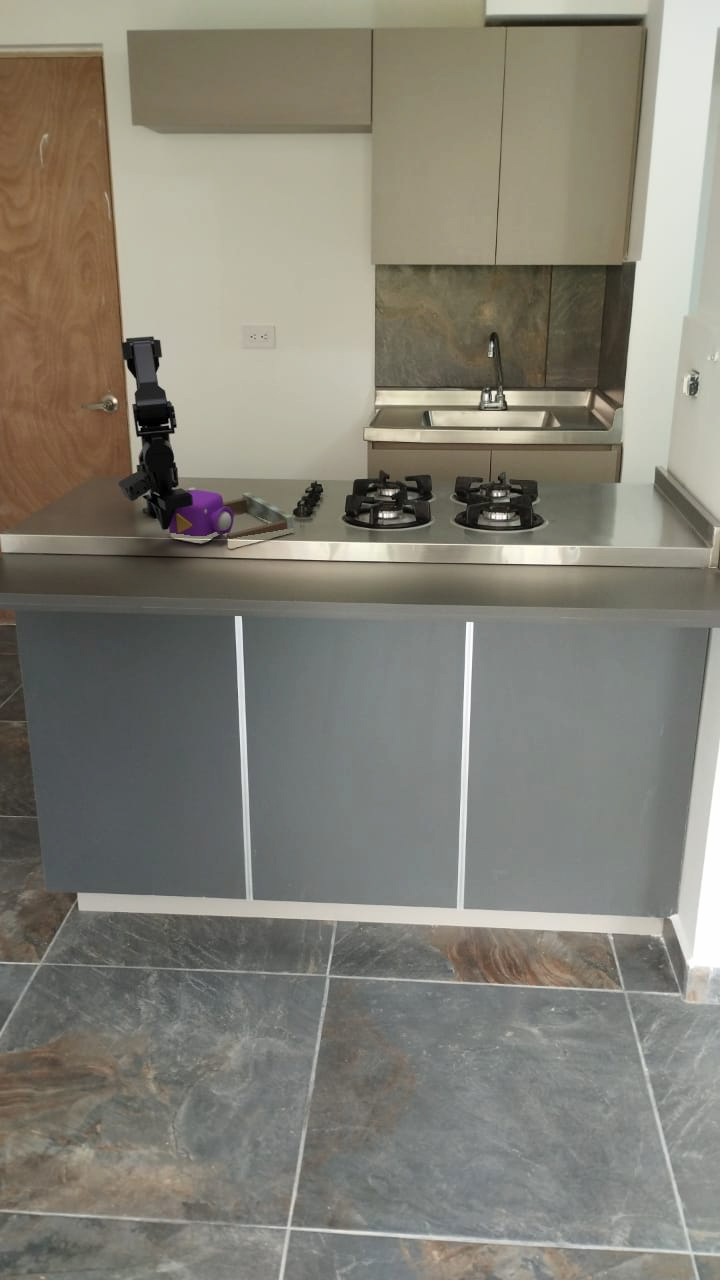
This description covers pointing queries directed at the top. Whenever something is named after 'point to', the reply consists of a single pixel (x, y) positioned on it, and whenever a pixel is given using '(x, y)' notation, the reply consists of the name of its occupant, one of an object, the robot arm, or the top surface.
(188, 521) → the toy camera
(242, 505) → the walnut dock
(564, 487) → the top surface
